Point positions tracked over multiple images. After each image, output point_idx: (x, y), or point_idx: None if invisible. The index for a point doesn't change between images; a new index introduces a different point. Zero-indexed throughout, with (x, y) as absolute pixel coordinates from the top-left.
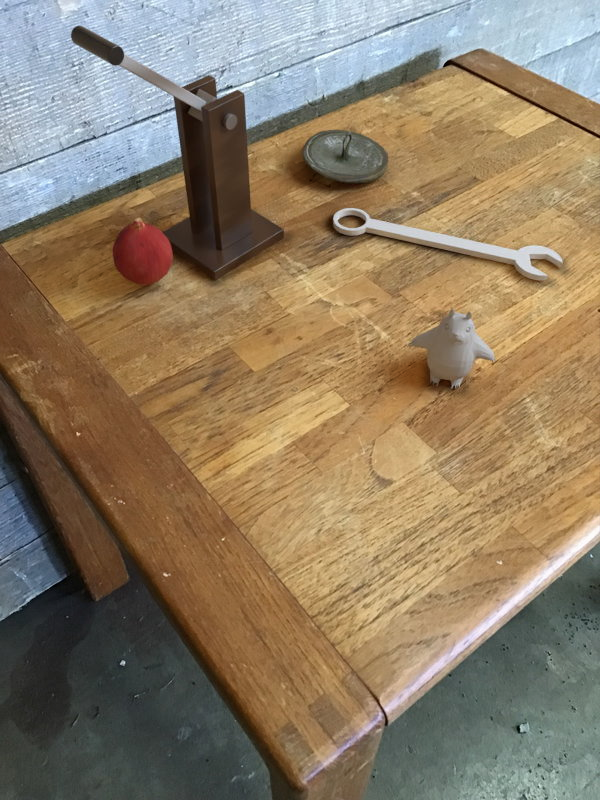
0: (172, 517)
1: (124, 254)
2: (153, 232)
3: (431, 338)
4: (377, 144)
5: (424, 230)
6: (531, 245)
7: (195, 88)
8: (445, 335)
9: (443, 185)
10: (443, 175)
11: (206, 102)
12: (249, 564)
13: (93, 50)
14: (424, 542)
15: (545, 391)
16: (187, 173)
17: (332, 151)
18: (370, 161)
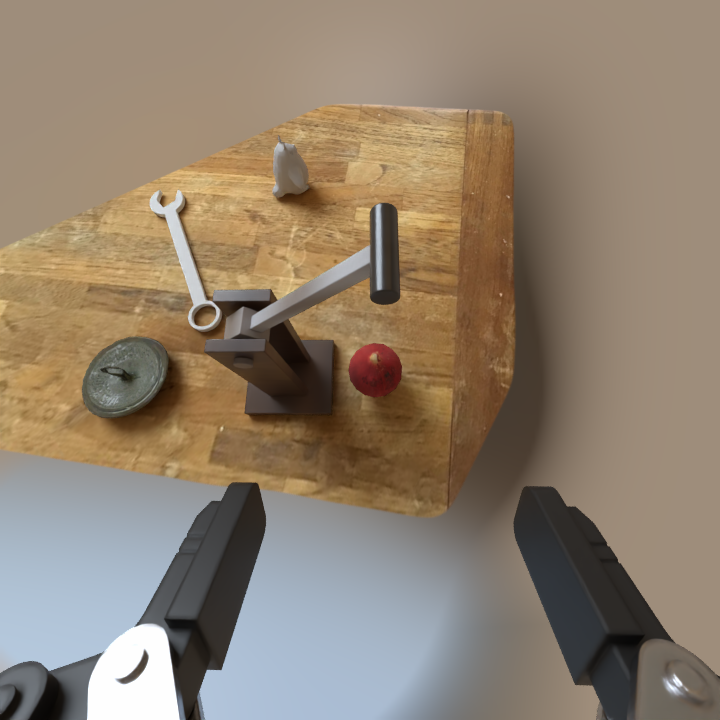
0: (486, 217)
1: (397, 359)
2: (365, 352)
3: (298, 168)
4: (89, 368)
5: (182, 268)
6: (153, 210)
7: (240, 339)
8: (295, 154)
9: (112, 301)
10: (98, 310)
11: (251, 316)
12: (471, 177)
13: (398, 243)
14: (396, 137)
15: (270, 150)
16: (293, 374)
17: (124, 390)
18: (119, 356)
